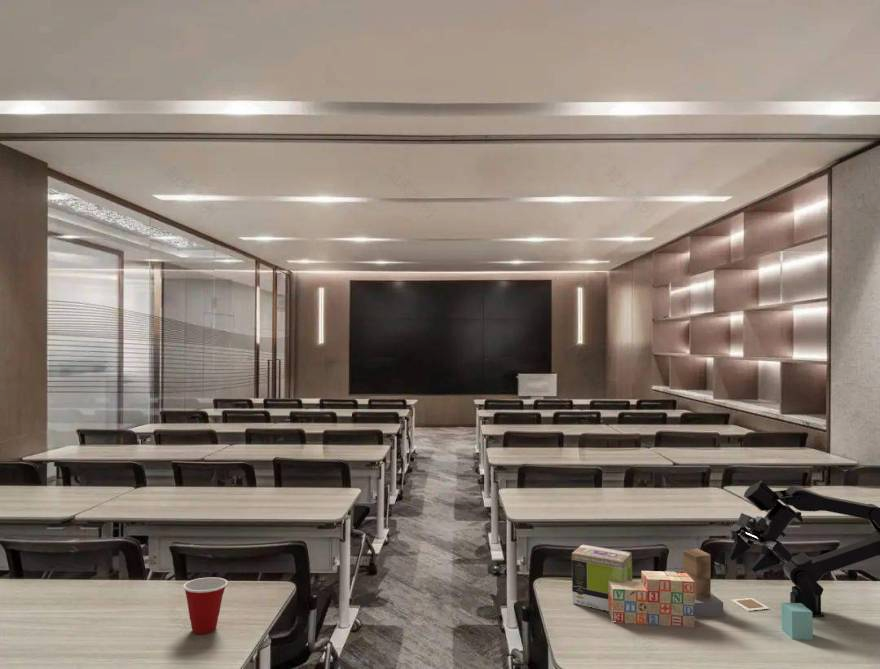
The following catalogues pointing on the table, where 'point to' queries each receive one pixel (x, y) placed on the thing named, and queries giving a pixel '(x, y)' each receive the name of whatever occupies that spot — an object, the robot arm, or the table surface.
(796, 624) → the teal block
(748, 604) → the card
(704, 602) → the base block
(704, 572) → the walnut block
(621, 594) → the stack of blocks
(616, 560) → the tea box
